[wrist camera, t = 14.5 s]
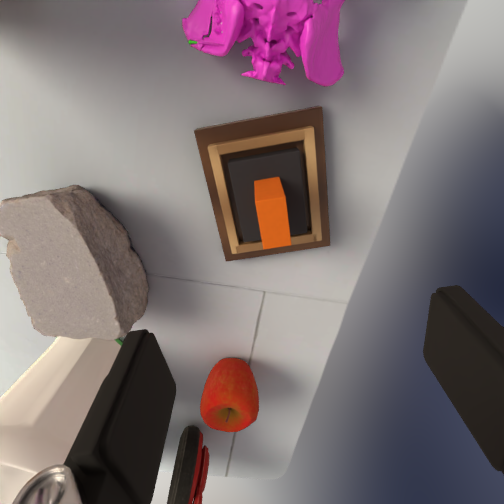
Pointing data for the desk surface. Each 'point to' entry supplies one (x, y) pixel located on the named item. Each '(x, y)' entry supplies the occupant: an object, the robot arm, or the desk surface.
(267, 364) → the desk surface
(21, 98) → the desk surface
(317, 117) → the backing board
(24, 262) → the decorative stone
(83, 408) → the cup
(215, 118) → the desk surface
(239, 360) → the apple
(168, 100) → the desk surface
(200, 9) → the pelvis
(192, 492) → the headphones
